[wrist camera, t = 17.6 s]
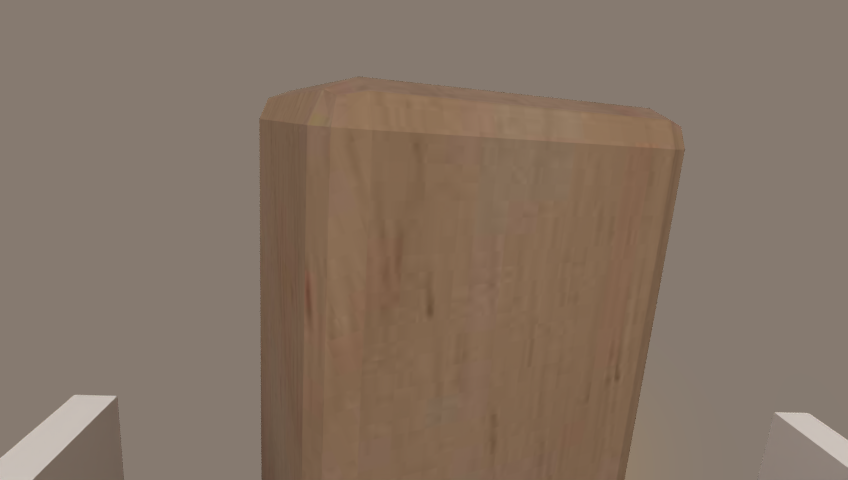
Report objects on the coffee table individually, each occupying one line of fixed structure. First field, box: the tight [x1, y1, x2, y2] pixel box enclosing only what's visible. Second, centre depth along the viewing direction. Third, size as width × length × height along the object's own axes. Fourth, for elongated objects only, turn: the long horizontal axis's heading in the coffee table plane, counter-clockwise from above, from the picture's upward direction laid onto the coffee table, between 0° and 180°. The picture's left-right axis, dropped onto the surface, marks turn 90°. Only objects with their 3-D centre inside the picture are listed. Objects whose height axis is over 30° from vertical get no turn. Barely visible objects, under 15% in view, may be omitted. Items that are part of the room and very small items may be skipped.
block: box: [260, 77, 685, 480], centre depth 17 cm, size 10×10×20 cm
